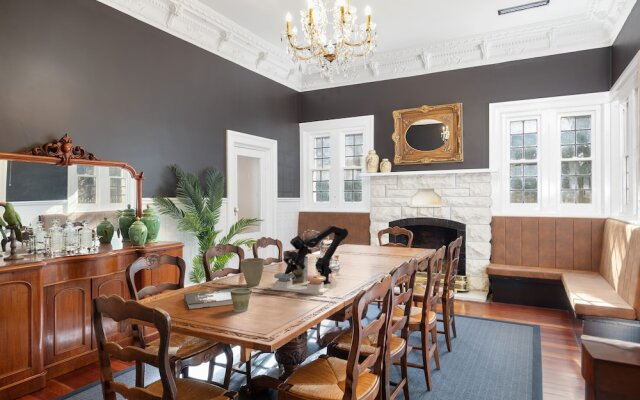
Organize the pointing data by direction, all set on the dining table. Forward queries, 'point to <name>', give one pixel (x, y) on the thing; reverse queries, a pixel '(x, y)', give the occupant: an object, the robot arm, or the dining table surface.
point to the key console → (300, 287)
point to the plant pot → (252, 270)
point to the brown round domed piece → (315, 279)
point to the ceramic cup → (240, 299)
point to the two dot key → (284, 276)
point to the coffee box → (301, 272)
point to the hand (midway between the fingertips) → (285, 274)
